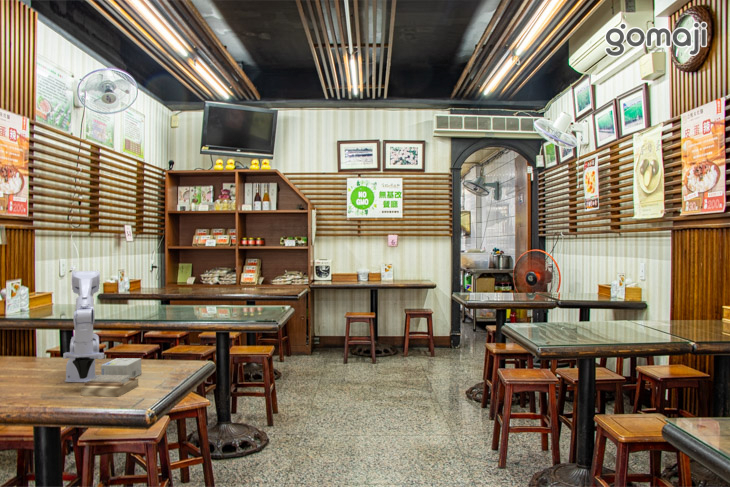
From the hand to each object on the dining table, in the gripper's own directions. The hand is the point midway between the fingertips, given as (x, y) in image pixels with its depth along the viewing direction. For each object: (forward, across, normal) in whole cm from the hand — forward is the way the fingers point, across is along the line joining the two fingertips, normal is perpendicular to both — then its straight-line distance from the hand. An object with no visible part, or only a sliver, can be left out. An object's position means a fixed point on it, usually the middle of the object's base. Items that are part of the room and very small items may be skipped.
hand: (83, 377), depth 161 cm
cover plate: (+2, +10, 0) cm, 11 cm away
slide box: (+4, +10, 0) cm, 11 cm away
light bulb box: (+1, +10, +16) cm, 19 cm away
